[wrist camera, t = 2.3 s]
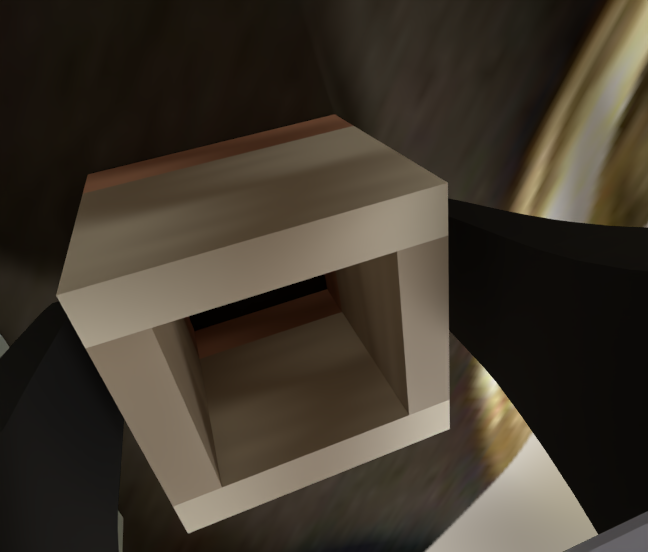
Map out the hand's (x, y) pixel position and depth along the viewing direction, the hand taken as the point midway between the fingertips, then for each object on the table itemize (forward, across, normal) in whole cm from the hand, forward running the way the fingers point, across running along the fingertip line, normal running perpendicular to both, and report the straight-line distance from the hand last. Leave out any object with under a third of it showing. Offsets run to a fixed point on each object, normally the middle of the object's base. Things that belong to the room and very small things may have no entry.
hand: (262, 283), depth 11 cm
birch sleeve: (+2, 0, 0) cm, 2 cm away
